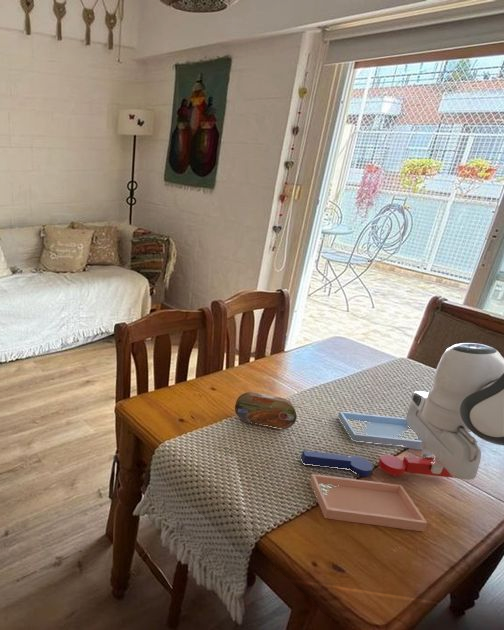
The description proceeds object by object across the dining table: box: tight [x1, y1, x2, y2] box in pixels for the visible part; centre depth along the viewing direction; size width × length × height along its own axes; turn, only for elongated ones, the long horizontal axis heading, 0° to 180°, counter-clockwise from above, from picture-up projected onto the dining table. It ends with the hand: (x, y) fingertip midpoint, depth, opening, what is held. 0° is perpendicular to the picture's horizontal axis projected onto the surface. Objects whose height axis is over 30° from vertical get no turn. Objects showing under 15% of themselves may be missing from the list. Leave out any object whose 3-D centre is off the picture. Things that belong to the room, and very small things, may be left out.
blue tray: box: [337, 411, 422, 451], centre depth 114 cm, size 18×10×2 cm, turn 80°
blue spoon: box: [300, 449, 374, 478], centre depth 102 cm, size 15×5×3 cm, turn 80°
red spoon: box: [377, 454, 455, 479], centre depth 99 cm, size 15×5×3 cm, turn 80°
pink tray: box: [309, 473, 428, 532], centre depth 91 cm, size 18×10×2 cm, turn 80°
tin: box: [234, 391, 298, 430], centre depth 116 cm, size 15×3×8 cm, turn 68°
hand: (429, 466), depth 98 cm, fingers closed on red spoon, 2 cm apart
